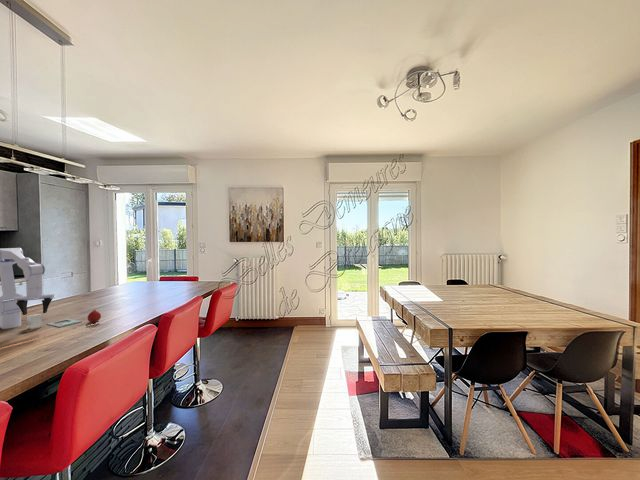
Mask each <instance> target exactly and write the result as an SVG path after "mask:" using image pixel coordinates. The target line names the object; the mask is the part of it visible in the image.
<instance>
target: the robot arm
mask: <svg viewBox="0 0 640 480" xmlns="http://www.w3.org/2000/svg"><path fill="white" fill-rule="evenodd" d="M14 264H17V267H19V269H21V270H22V273H23V276H24V280H26V281H25V282H26V284H25V285H26V287H25V289H26V291H25V292H26V295H25V296H24V295H22V294H19V293H17V290H16V282H15V275H14V269H13V265H14ZM45 271H46V268H45V265H44V264H43V263H37V262H35V261H34V260H33V259H32V258H30V257H26V256H24V251H23V249H22V248H21V247H8V248H7V247H6V248H0V285H1V292H2V295H1V296H0V329H2V330H6V329H13V328H17V327H21V326H22V316H27V315H28V302H29V301H36V300H41V303H42V313H43V314H46V313H47V312H48V308H49V306H50V303H51V302H52V301H53V299H55V294H53V293H51V294H43V275H44V274H45Z"/></svg>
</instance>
